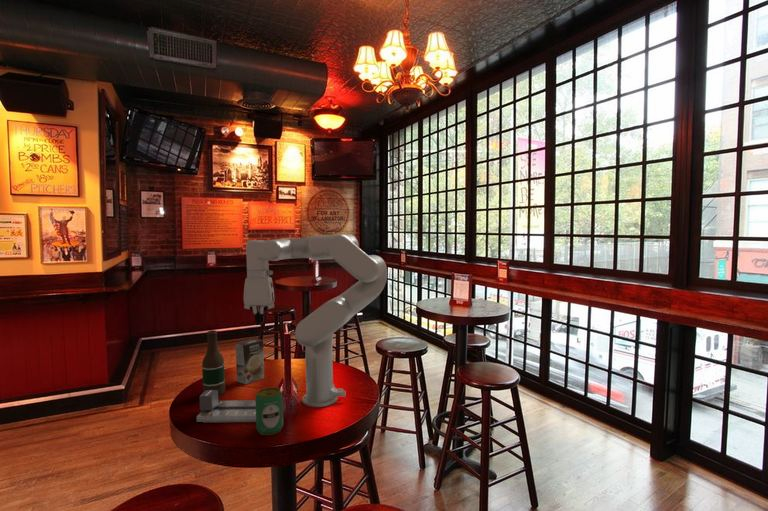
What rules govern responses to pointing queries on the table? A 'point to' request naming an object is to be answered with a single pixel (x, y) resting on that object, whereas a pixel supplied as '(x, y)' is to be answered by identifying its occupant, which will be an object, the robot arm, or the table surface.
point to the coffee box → (249, 361)
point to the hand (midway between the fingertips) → (259, 324)
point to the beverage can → (269, 411)
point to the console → (230, 412)
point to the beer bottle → (213, 366)
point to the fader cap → (209, 400)
